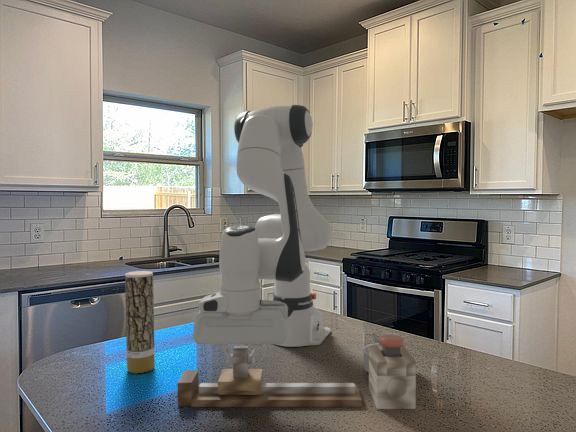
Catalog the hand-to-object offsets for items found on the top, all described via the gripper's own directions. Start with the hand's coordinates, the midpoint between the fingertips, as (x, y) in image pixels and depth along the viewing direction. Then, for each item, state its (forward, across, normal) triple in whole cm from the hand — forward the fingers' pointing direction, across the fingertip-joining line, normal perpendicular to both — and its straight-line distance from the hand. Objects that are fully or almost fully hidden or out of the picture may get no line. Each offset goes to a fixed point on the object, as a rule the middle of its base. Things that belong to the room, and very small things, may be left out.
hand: (240, 362), depth 98 cm
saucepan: (+8, -34, -19) cm, 40 cm away
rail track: (+8, -12, 0) cm, 14 cm away
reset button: (-1, -33, 0) cm, 33 cm away
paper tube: (+8, +28, -16) cm, 33 cm away
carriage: (+6, 0, 0) cm, 6 cm away
